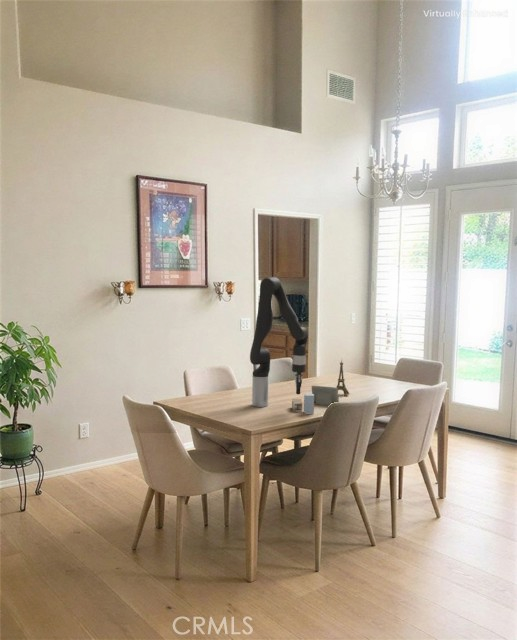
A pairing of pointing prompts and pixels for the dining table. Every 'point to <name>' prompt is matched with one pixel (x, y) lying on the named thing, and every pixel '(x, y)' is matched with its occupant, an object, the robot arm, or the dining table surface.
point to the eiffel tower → (342, 381)
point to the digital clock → (325, 395)
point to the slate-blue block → (309, 403)
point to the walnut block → (297, 405)
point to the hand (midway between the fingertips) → (298, 393)
